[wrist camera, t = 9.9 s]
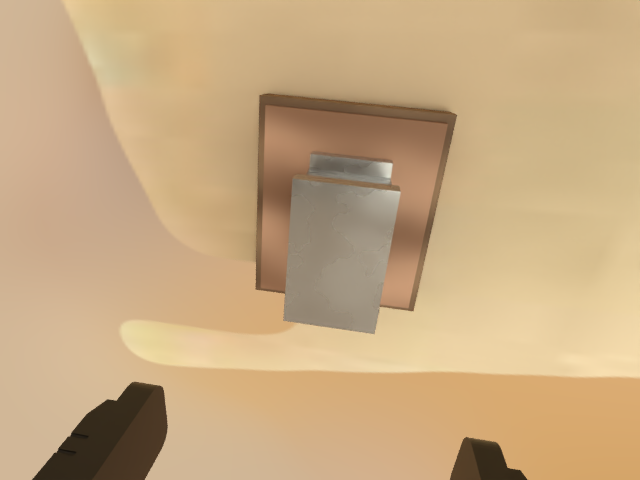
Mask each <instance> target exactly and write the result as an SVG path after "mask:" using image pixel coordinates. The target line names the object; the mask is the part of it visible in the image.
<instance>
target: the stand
mask: <svg viewBox="0 0 640 480" xmlns="http://www.w3.org/2000/svg"><path fill="white" fill-rule="evenodd" d="M456 117H457V115H455V114H453V113H451V112H445V111H435V110H425V109H415V108H405V107H395V106H385V105H375V104H365V103H355V102H345V101H335V100H325V99H315V98H305V97H295V96H285V95H275V94H264V95H260V106H259V154H258V202H257V251H256V289H257V290H264V291H271V292H278V293H285V289H286V273H287V258H288V242H289V226H290V211H291V195H292V179H293V177H294V176H295V175H296V174H305V175H306V173H307V171H308V170H309V166H310V154H311V152H312V151H318V152H327V153H335V154H344V155H353V156H361V157H370V158H379V159H387V160H392V161H393V167H392V173H391V183H392V185H396V186H399V187H400V191H401V193H400V199H399V204H398V210H397V215H396V220H395V226H394V231H393V237H392V242H391V247H390V253H389V258H388V264H387V269H386V274H385V280H384V285H383V291H382V296H381V302H380V307H387V308H394V309H401V310H408V311H413V310H414V306H415V301H416V297H417V292H418V288H419V283H420V279H421V274H422V270H423V265H424V261H425V256H426V252H427V247H428V243H429V238H430V234H431V229H432V225H433V220H434V216H435V211H436V207H437V202H438V198H439V193H440V189H441V184H442V180H443V175H444V171H445V166H446V162H447V157H448V153H449V148H450V144H451V139H452V135H453V130H454V126H455V121H456Z"/></svg>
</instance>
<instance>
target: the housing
mask: <svg viewBox="0 0 640 480" xmlns="http://www.w3.org/2000/svg"><path fill="white" fill-rule="evenodd" d="M392 167H393V161H392V160H387V159H379V158H370V157H361V156H353V155H344V154H335V153H327V152H318V151H312V152H311V154H310V166H309V170H308V171H307V173H306V175H305V174H296V175H295V176H294V177H293V179H292V195H291V211H290V226H289V242H288V258H287V273H286V289H285V305H284V321H290V322H296V323H303V324H310V325H316V326H323V327H330V328H337V329H344V330H350V331H357V332H364V333H371V334H375V329H376V323H377V318H378V312H379V307H380V302H381V296H382V291H383V285H384V280H385V274H386V269H387V264H388V258H389V253H390V247H391V242H392V237H393V231H394V226H395V220H396V215H397V210H398V204H399V199H400V193H401V191H400V187H399V186H396V185H392V183H391V173H392Z"/></svg>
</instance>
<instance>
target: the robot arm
mask: <svg viewBox="0 0 640 480" xmlns="http://www.w3.org/2000/svg"><path fill="white" fill-rule="evenodd" d="M167 426H168V425H167V415H166V406H165V397H164V390H163V387H161V386H157V385H151V384H145V383H139V382H132V383H131V384H130V385H129V386H128V387H127V388H126V389H125V391H124V392H123V393H122V395H121V396H120V397H119V398H118V400H117V401H114V400H106V401H105V402H103V403H102V404H101V405H99V406H98V407H96V408H95V409H93V410H92V411H91V412H89V413H88V414H87V415H86V416H85V417H84V418H83V419H82V421H81V422H80V423H79V424H78V425H77V427H76V428H75V429H74V430H73V432H72V433H71V436H70V437H67V439H66V440H65V441H64V442H63V443H62V445H61V446H60V447H59V448H58V451H57V453H54V454H53V456H52V457H51V458H50V459H49V460H48V461H47V463H46V464H45V465H44V466H43V468H42V469H41V470H40V471H39V472H38V473H37V475H36V476H35V477H34V478H33V479H32V480H145V478H146V476H147V474H148V472H149V471H150V469H151V467H152V465H153V463H154V462H155V460H156V458H157V456H158V454H159V452H160V451H161V449H162V447H163V444H164V441H165V438H166V434H167ZM450 480H527V479H526V477H525V476H524V475H523V473H522V472H521V471H520V470H515V469H509V468H507V465H506V462H505V459H504V456H503V454H502V450H501V448H500V446H499V445H498V444H497V443H496V442H491V441H485V440H480V439H474V438H468V437H466V438H464V440H463V442H462V445H461V448H460V450H459V453H458V456H457V459H456V462H455V465H454V468H453V471H452V474H451V478H450Z"/></svg>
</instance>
